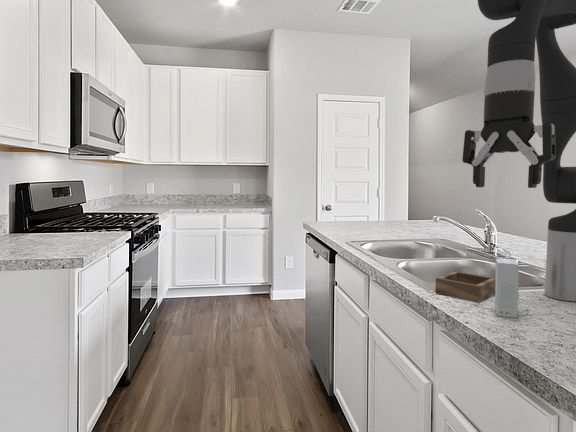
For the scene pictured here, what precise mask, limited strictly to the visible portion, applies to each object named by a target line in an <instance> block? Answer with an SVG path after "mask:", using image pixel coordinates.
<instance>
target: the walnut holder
mask: <svg viewBox="0 0 576 432" xmlns="http://www.w3.org/2000/svg"><path fill="white" fill-rule="evenodd" d="M434 292H435V294H439V295H444V296H448V297H453V298H458V299H462V300H466V301H470V302H474V303H480V302H482V301H485V300H486V299H488V298H490V297H493V296H495V277H491V276H485V275H479V274H472V273H470V272H469V273H468V272H461V271H457V270H455V271H453V272H449V273H447V274H444V275H441V276H438V277H436V278H435V291H434Z"/></svg>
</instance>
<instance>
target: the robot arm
mask: <svg viewBox="0 0 576 432" xmlns="http://www.w3.org/2000/svg"><path fill="white" fill-rule="evenodd" d="M477 5H478V9H479V11H480V13H481V14H482V15H483V17H485V18H486V19H488V20H491V21H501V20H508V19H514V20H512V21H511V22H510V23H508V24H507V25H504V26H503V27H501V28H499V29H498V30H496V31H494V32H493V33H492V34H491V35H490V36H489V38H488V43H487V45H488V46H487V63H486V64H487V65H486V66H487V68H486V75H485V81H484V89H483V95H484V99H483V100H484V101H483V102H484V103H483V105H484V106H483V126H482V129H481V130H470V129H468V130H465V133H464V139H463V148H462V149H463V150H462V162H463V163H464V164H468V165H471V166H472V182H473V184H474V185H475V187H476V188H484V187H485V185H486V183H485V180H486V166H484V165H485V164H486V163H487V162H488V160H489V159H490V158H491V157H492V156H493V155H494V154H495V153H496V154H497V153H499V154H502V153H503V154H504V153H507V152H508V153H519V152H520V153H521V155H523V156H524V157H525V158H526V160H527V161H528V162H529V163H530V165H528V175H527V176H528V178H527V187H528V188H529V189H536V188H537V187H538V186H537V185H541V184H540V183H541V182H542V191H543V196H544V199H545V200H546V201H547V202H548V203H553V204H576V166H561V161H562V155H563V153H564V151H565V149H566V147H567V146H568V144H569V142H570V140H571V139H572V138H573V136H574V135H575V133H576V67H575V65H574V64H573V63H572V62H571V61H570V60H569V59H568V58H567V57H566V55H565V53H564V52H563V51H562V49H561V48H560V45H559V42H558V40H557V37H556V29H557V30H558V29H561V28H565V27H570V26H574V25H576V0H477ZM536 48H537V49H536ZM536 51H537V57H538V69H539V73H538V74H539V101H540V102H539V103H540V105H539V106H540V116H541V117H540V118H541V124H540V125H535V124H534V115H535V114H534V109H535V94H536V93H535V92H536V91H535V90H536V69H535V55H536V53H535V52H536ZM536 133H537V134H538V137H539V138H541V140H542V154H540V155H539V153H538V152H537V150H536V148H535V147H534V146H533V145H532V143H531V142H530V140H531V139H532V138H533V137H534V135H535V134H536ZM480 138H482V139H483V141H484V142H485V143H484V144H483V145H482V147H481V148H480V150H479V151H478V153H477V155H476V148H477V143H478V142H479V141H480ZM542 168H543V169H542ZM542 173H543V174H542ZM546 237H547V242H546V259H545V260H546V261H545V276H544V277H545V278H544V292H543V294H544V295H545V296H546V297H549V298H553V299H555V300H559V301H567V302H576V208H575V209H574V210H573V211H570V212H568V213H566V214H563V215H559V216H558V215H557V216H553V217H551V218H550V219H549V220H548V223H547V236H546Z"/></svg>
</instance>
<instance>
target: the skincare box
mask: <svg viewBox="0 0 576 432" xmlns="http://www.w3.org/2000/svg"><path fill="white" fill-rule="evenodd" d="M519 268H520V264H519V262H518V261H517V260H516V259H513V258H495V277H494V278H495V294H494V296H495V297H494V308H495V311H496V315H497V316H498V317H503V318H512V319H517V318H518V317H519V287H520V286H519V281H520V279H519V275H520V269H519Z"/></svg>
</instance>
